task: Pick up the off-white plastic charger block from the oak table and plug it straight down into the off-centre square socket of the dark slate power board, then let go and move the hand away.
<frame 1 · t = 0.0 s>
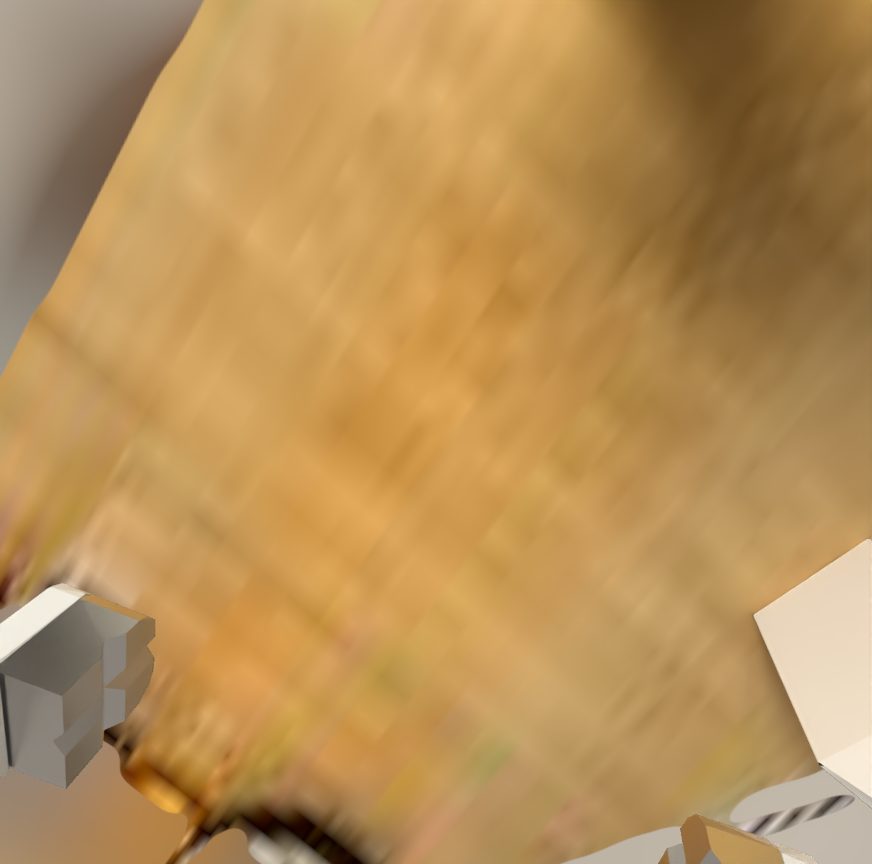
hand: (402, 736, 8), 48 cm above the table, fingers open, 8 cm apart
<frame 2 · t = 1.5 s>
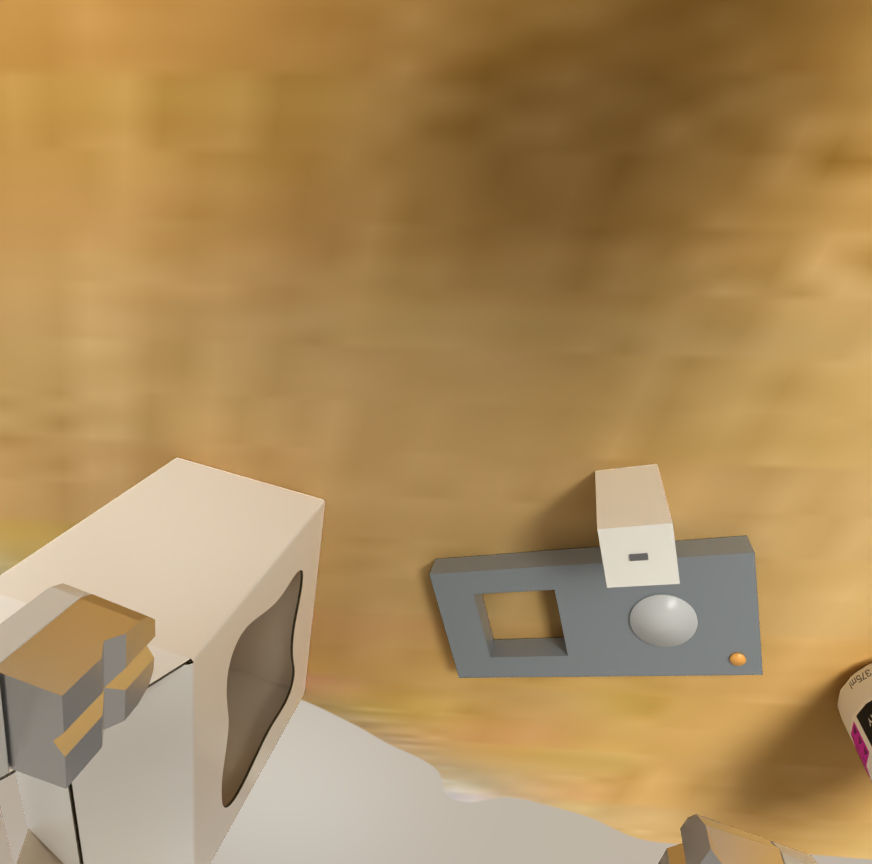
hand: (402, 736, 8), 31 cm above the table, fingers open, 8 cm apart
gable box: (246, 581, 51), on the table
charger: (629, 493, 40), on the table
power board: (589, 604, 44), on the table
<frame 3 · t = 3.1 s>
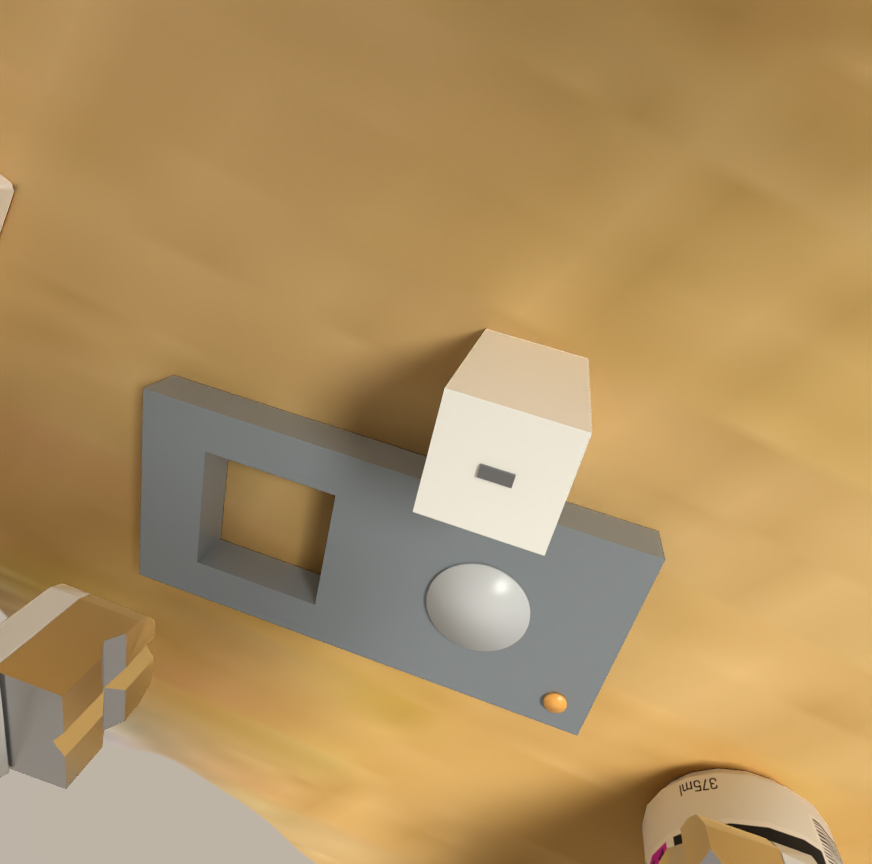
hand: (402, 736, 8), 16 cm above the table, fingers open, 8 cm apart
charger: (521, 391, 23), on the table
supplement can: (728, 816, 29), on the table
power board: (381, 542, 27), on the table
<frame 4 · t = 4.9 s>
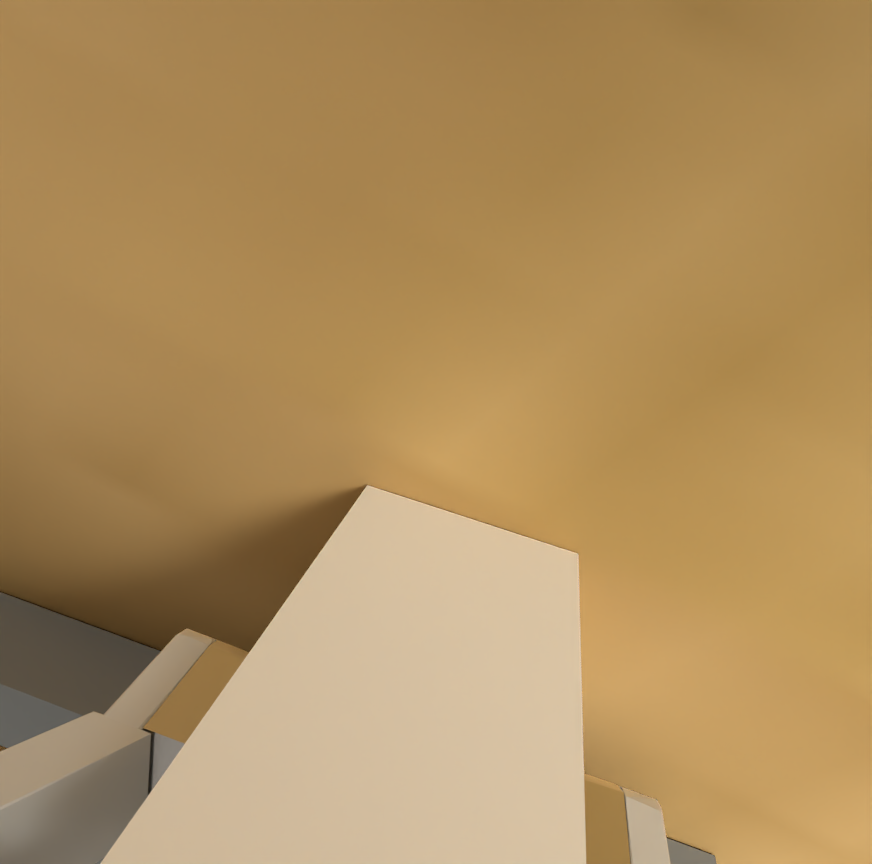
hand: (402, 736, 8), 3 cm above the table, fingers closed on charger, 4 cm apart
charger: (444, 602, 11), on the table, touching gripper
power board: (219, 813, 15), on the table
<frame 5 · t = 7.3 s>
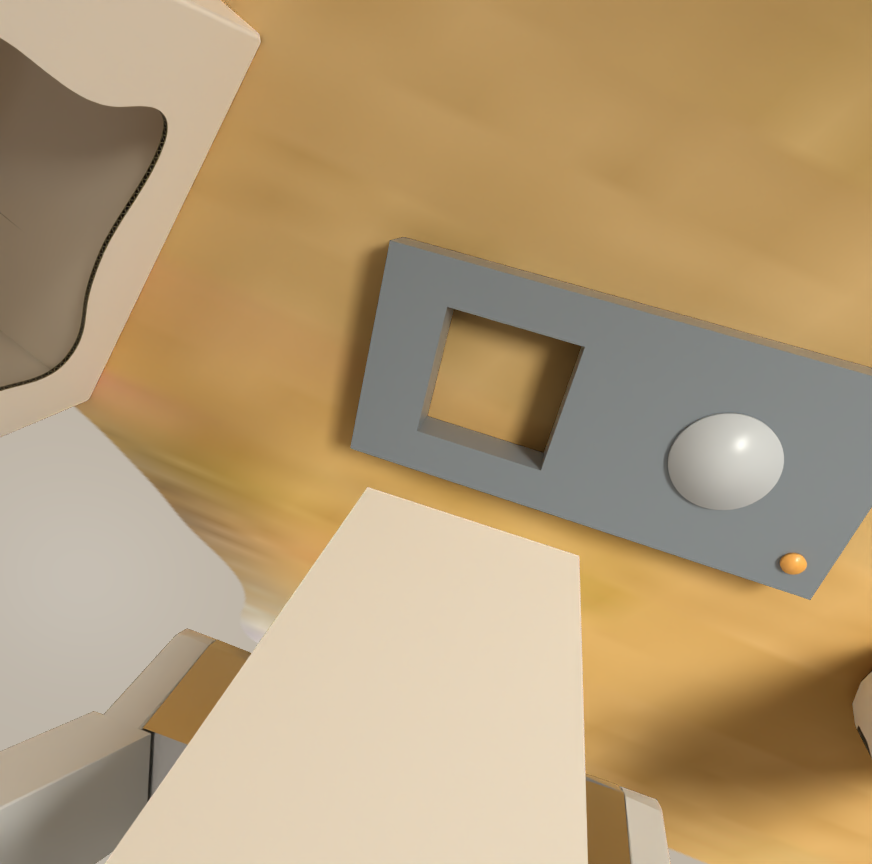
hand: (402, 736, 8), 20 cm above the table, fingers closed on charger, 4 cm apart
gable box: (60, 161, 29), on the table
charger: (445, 605, 11), point 17 cm above the table, touching gripper
power board: (605, 410, 27), on the table
when the fingers open (4 cm above the table, at t = 9.9 s): charger stays where it is, resting in power board.
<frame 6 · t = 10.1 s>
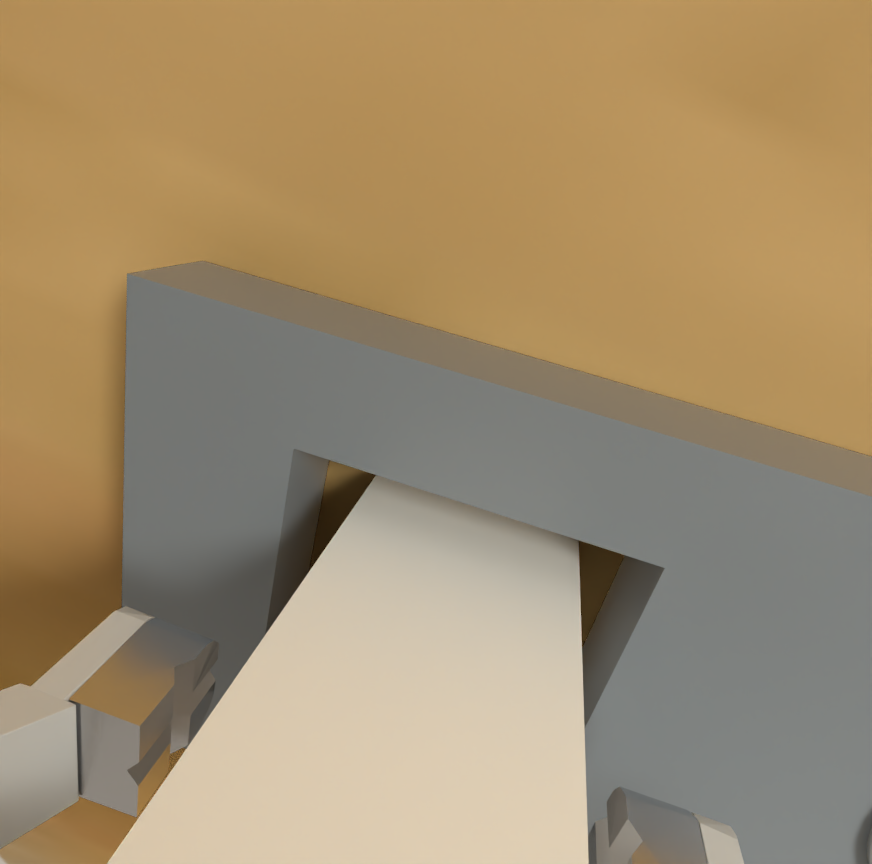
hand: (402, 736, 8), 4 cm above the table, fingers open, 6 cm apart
charger: (452, 579, 12), resting in power board
power board: (689, 661, 12), on the table
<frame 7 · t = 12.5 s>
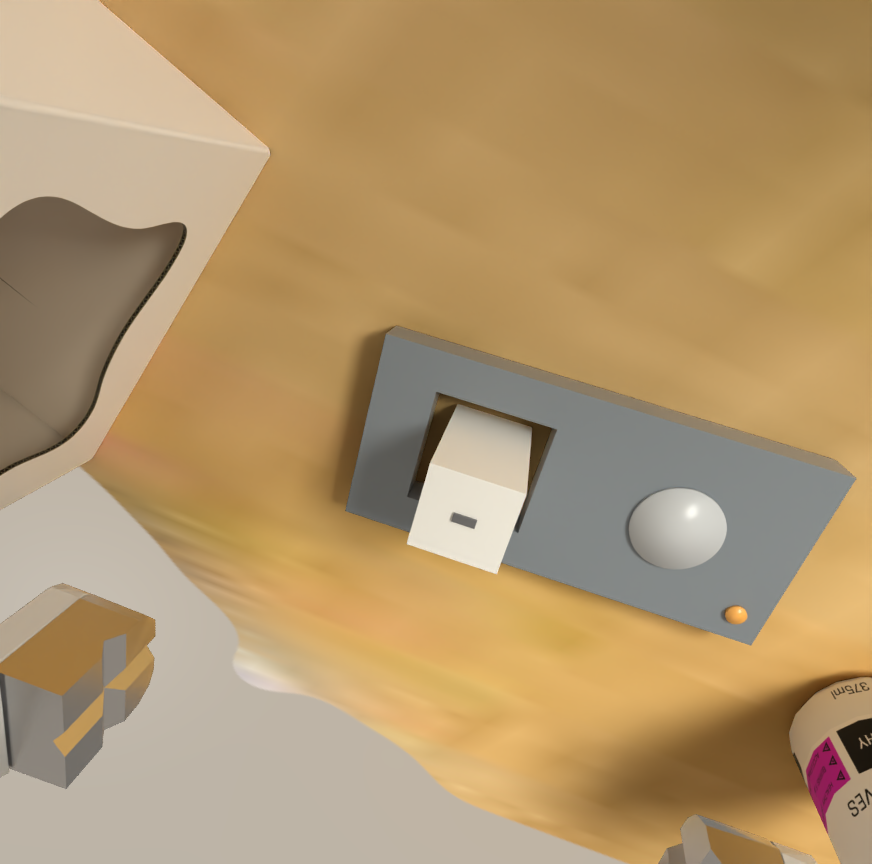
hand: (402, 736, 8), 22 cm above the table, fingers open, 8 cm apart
gable box: (73, 244, 31), on the table
charger: (483, 449, 31), resting in power board
supplement can: (863, 723, 33), on the table
power board: (574, 478, 30), on the table
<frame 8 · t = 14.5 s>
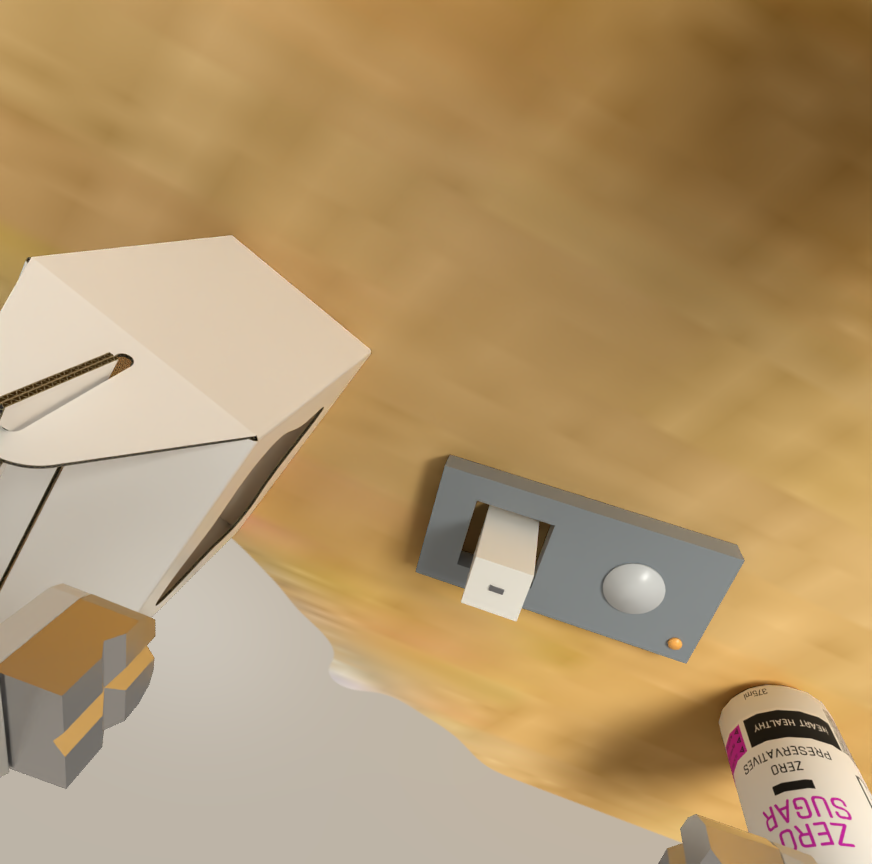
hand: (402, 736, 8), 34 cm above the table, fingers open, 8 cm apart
gable box: (236, 397, 47), on the table
charger: (507, 531, 46), resting in power board
supplement can: (770, 716, 47), on the table
power board: (568, 551, 46), on the table
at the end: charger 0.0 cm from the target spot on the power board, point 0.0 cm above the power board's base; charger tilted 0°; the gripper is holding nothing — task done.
